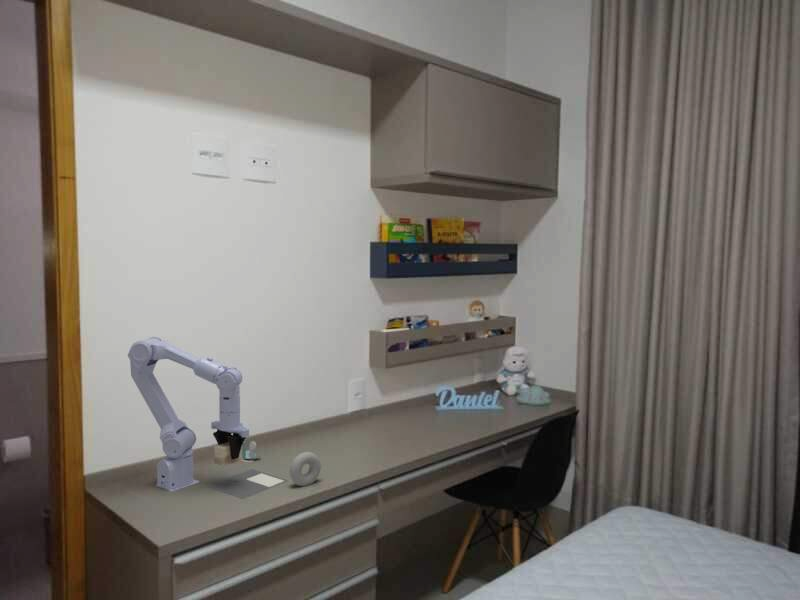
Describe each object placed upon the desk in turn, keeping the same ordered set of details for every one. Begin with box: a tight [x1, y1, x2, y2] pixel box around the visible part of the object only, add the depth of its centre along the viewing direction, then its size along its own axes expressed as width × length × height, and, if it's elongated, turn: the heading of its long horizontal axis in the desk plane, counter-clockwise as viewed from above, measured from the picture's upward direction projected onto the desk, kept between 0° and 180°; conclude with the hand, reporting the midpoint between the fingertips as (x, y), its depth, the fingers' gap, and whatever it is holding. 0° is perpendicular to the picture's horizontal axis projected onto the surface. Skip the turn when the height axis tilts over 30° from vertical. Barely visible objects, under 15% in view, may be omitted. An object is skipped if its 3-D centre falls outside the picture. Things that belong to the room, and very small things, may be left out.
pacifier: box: [241, 440, 263, 463], centre depth 194 cm, size 7×6×6 cm
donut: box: [289, 451, 322, 487], centre depth 172 cm, size 10×3×10 cm, turn 131°
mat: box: [205, 468, 289, 500], centre depth 173 cm, size 17×16×1 cm
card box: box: [213, 441, 247, 467], centre depth 171 cm, size 8×4×5 cm, turn 145°
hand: (229, 456), depth 171 cm, fingers closed on card box, 4 cm apart
